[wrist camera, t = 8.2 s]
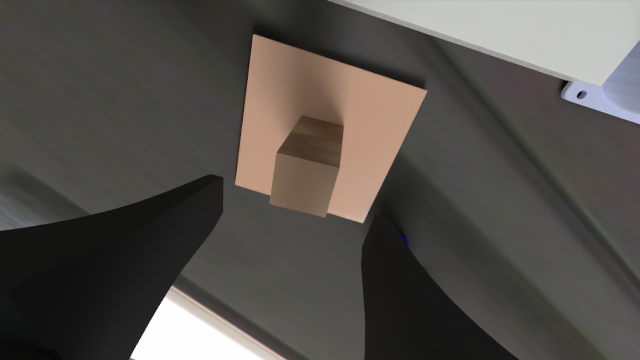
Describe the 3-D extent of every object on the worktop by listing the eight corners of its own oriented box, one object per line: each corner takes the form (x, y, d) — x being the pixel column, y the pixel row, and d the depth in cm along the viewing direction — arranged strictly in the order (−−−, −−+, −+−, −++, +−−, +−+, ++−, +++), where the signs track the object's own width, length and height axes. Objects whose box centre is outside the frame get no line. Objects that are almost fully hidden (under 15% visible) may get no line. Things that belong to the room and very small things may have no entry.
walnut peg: (344, 125, 18) (339, 168, 12) (333, 163, 20) (325, 217, 14) (302, 115, 18) (276, 152, 12) (295, 153, 20) (269, 203, 14)
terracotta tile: (425, 89, 17) (427, 90, 16) (362, 218, 23) (362, 223, 22) (256, 34, 16) (253, 34, 16) (238, 181, 22) (235, 184, 22)
